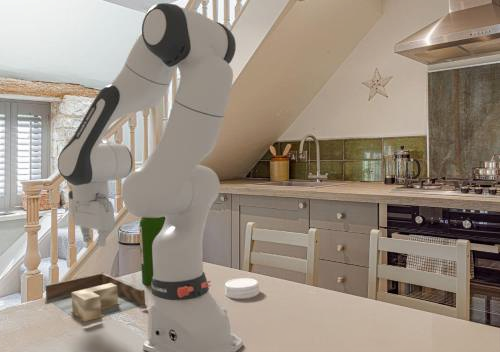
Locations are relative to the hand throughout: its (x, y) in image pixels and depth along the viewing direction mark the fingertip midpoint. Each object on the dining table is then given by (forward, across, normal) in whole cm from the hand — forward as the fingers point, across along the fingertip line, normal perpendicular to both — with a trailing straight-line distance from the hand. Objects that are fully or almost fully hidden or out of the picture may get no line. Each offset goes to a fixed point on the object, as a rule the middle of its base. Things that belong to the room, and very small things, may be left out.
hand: (94, 244), depth 116 cm
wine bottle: (+18, +10, -23) cm, 31 cm away
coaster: (+19, -20, -35) cm, 44 cm away
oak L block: (+17, -2, +1) cm, 17 cm away
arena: (+18, +6, -1) cm, 19 cm away
